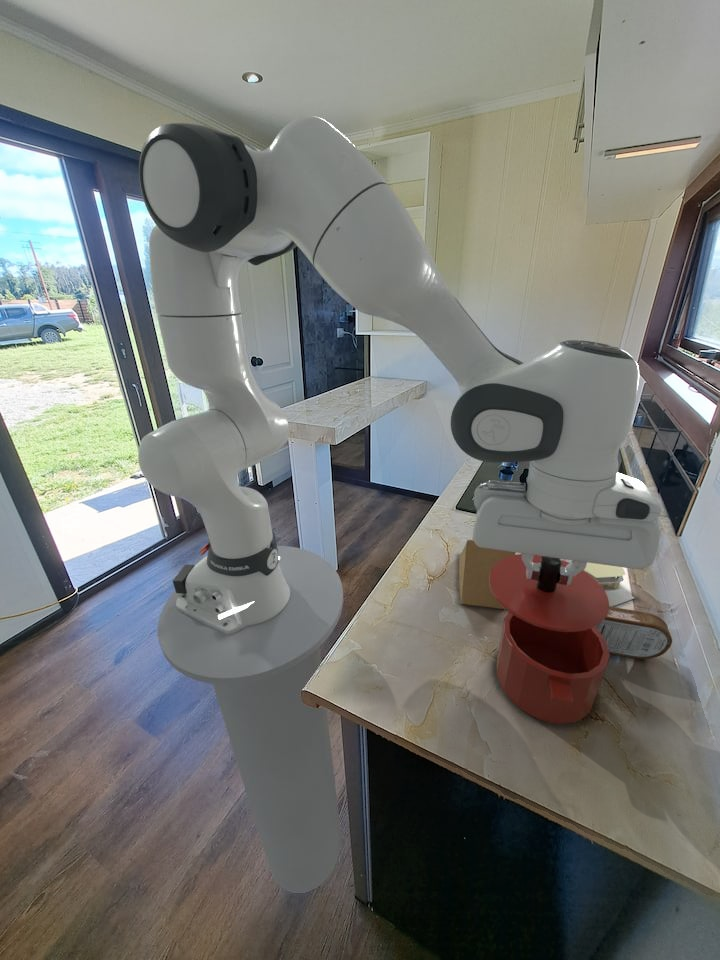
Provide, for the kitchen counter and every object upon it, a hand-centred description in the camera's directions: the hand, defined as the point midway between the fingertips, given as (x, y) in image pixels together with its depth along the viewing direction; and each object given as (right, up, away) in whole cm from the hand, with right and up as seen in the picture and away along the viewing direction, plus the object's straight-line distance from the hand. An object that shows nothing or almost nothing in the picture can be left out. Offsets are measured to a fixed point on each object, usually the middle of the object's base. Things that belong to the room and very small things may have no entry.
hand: (547, 579), depth 51 cm
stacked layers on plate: (+22, -9, +25) cm, 35 cm away
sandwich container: (0, -8, +29) cm, 30 cm away
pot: (+3, -18, +8) cm, 20 cm away
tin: (+16, -15, +13) cm, 26 cm away
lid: (0, -1, +1) cm, 2 cm away
